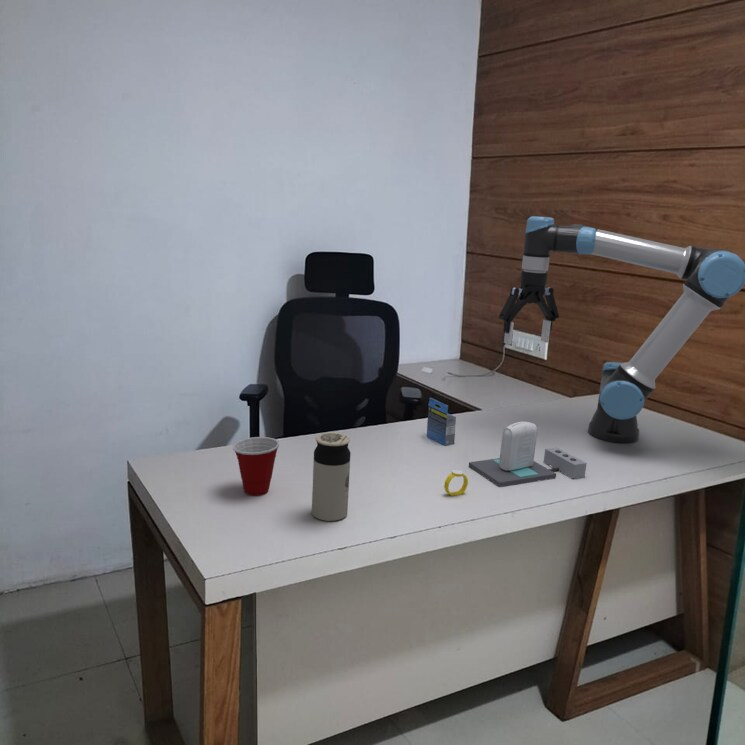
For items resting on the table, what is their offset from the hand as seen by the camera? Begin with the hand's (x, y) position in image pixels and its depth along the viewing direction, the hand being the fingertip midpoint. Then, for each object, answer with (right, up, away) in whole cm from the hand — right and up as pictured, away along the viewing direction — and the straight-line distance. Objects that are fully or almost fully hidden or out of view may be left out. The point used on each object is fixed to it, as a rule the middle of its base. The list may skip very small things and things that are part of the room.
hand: (526, 342), depth 211 cm
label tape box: (-26, -29, -2) cm, 39 cm away
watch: (-26, -39, -38) cm, 60 cm away
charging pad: (-9, -35, -23) cm, 43 cm away
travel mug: (-55, -41, -53) cm, 87 cm away
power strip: (+4, -35, -20) cm, 41 cm away
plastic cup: (-74, -37, -43) cm, 93 cm away
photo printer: (-8, -34, -23) cm, 42 cm away
